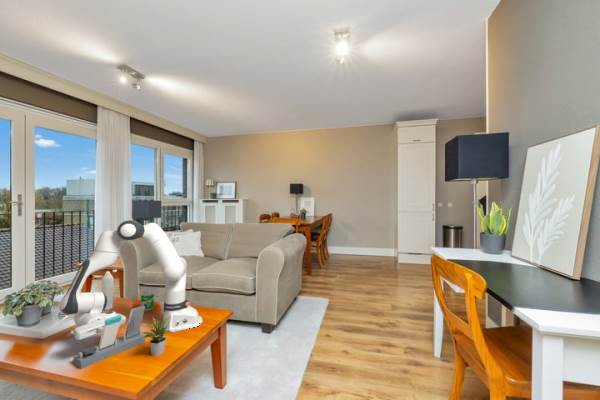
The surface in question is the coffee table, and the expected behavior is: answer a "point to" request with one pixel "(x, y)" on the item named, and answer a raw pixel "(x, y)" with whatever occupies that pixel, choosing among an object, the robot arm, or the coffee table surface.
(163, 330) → the house plant
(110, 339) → the white paddle
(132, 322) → the grey upright panel
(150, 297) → the soda can
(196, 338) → the coffee table surface
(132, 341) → the grey holder rack
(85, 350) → the black rocker
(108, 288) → the water bottle
